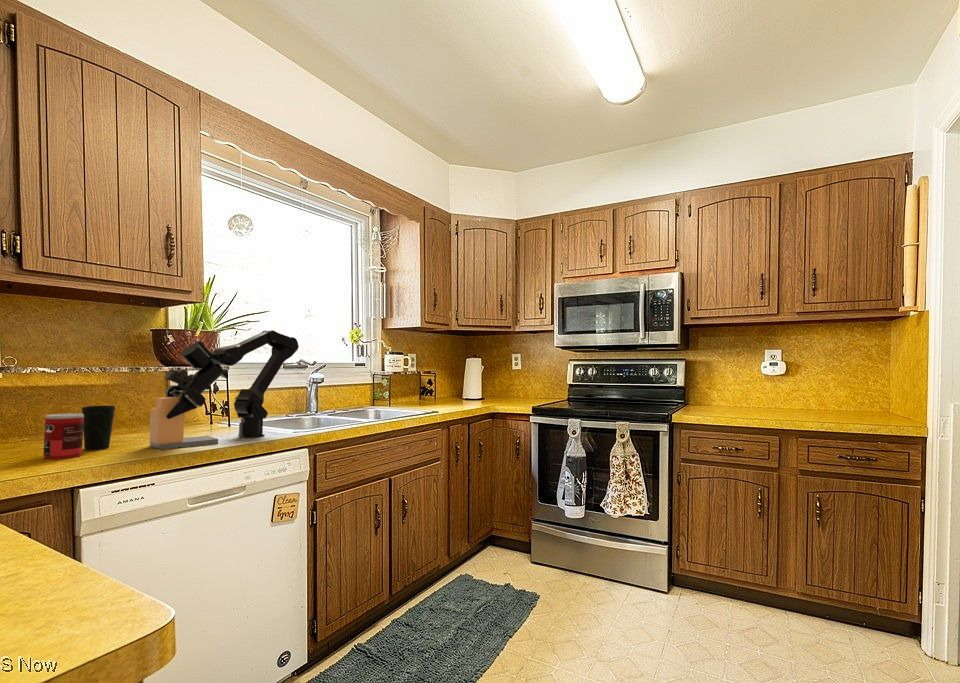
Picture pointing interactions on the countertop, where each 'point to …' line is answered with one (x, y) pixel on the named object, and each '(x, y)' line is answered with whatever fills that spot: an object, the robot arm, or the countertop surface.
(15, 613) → the countertop surface
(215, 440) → the board
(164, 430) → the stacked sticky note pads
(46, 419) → the canned food
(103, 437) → the cup
